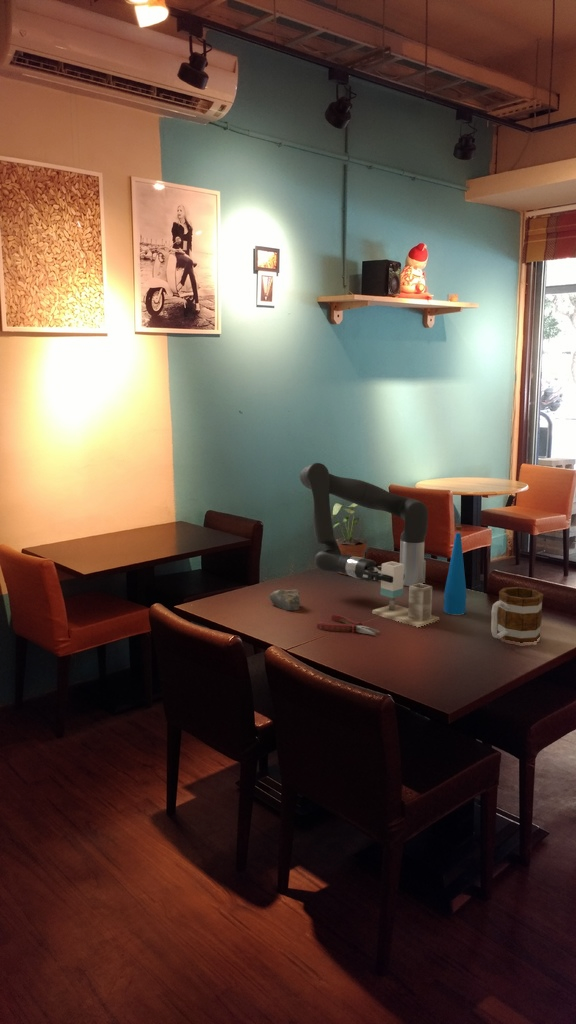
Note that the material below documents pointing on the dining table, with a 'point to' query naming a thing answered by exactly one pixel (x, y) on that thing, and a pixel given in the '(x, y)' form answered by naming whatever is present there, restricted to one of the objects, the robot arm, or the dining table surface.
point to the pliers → (346, 626)
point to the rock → (286, 599)
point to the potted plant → (349, 535)
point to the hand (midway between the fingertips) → (398, 578)
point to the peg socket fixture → (411, 607)
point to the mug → (517, 614)
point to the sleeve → (398, 574)
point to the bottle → (456, 580)
